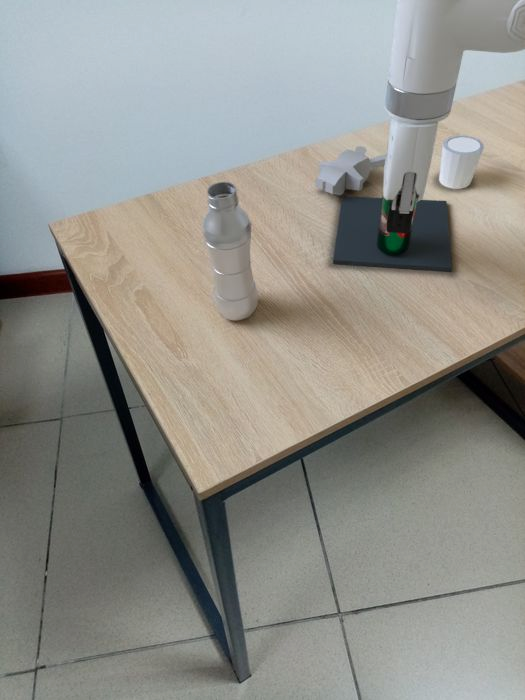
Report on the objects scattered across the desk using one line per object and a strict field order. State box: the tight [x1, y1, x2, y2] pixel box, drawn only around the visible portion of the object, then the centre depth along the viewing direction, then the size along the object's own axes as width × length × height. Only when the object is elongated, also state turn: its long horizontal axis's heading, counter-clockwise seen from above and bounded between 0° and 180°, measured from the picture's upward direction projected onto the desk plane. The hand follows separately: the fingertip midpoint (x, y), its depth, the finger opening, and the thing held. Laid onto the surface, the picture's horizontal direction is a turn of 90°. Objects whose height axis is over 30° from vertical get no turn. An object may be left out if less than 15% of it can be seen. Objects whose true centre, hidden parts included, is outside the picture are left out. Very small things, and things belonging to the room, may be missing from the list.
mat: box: [332, 195, 453, 273], centre depth 88 cm, size 18×18×1 cm
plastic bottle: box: [201, 181, 259, 321], centre depth 71 cm, size 6×7×20 cm
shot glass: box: [438, 135, 485, 190], centre depth 95 cm, size 7×7×7 cm
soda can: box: [377, 195, 417, 256], centre depth 80 cm, size 5×5×12 cm
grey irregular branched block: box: [315, 145, 386, 196], centre depth 97 cm, size 10×5×15 cm
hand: (397, 229), depth 75 cm, fingers closed
